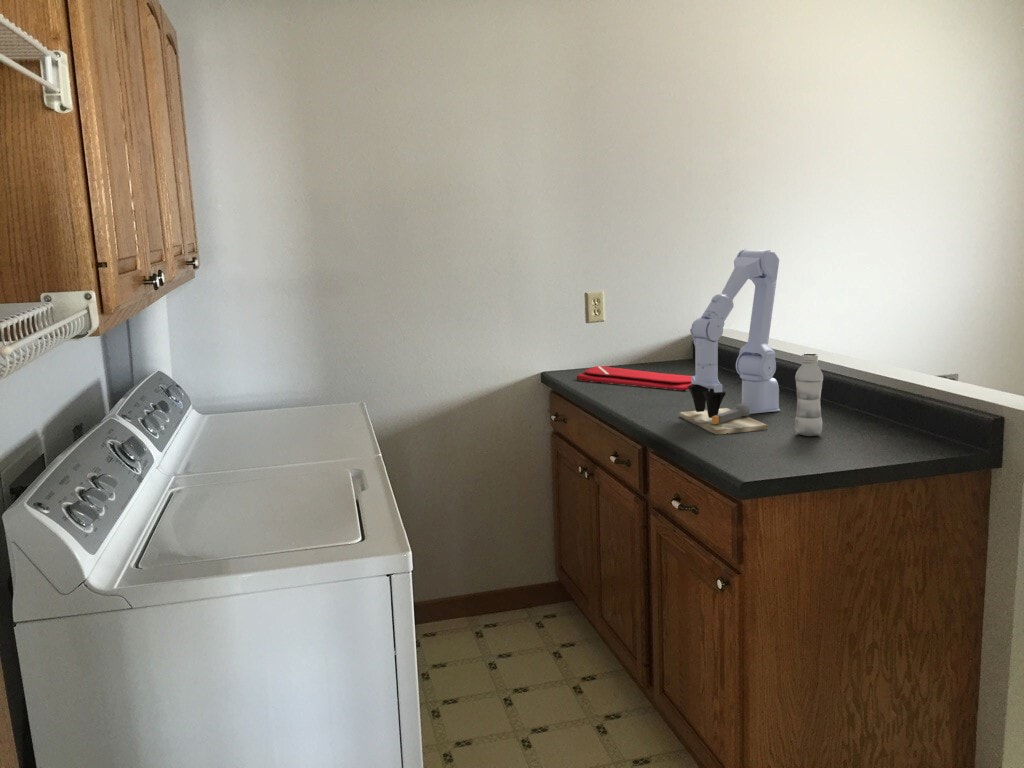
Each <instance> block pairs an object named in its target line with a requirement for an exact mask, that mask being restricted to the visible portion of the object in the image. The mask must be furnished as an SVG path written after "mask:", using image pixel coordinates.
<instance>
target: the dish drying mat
mask: <svg viewBox="0 0 1024 768" xmlns="http://www.w3.org/2000/svg"><path fill="white" fill-rule="evenodd" d="M691 376H692V375H686V374H685V375H684V374H683V375H682V374H674V373H673V374H672V373H663V372H662V373H660V372H652V371H644V370H635V369H628V368H621V367H620V368H619V367H611V366H603V365H597V366H593V367H590V368H586V369H585V370H584V372H581V373H579V374H577V375H576V380H582V381H581V382H585V381H593V382H592V383H594V382H603V383H613V384H625V385H636V386H645V387H656V388H667V389H676V390H688V386H691V385H693V384H692V383H691ZM603 383H602V384H603ZM613 384H612V385H613ZM676 390H675V391H676Z"/></svg>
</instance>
